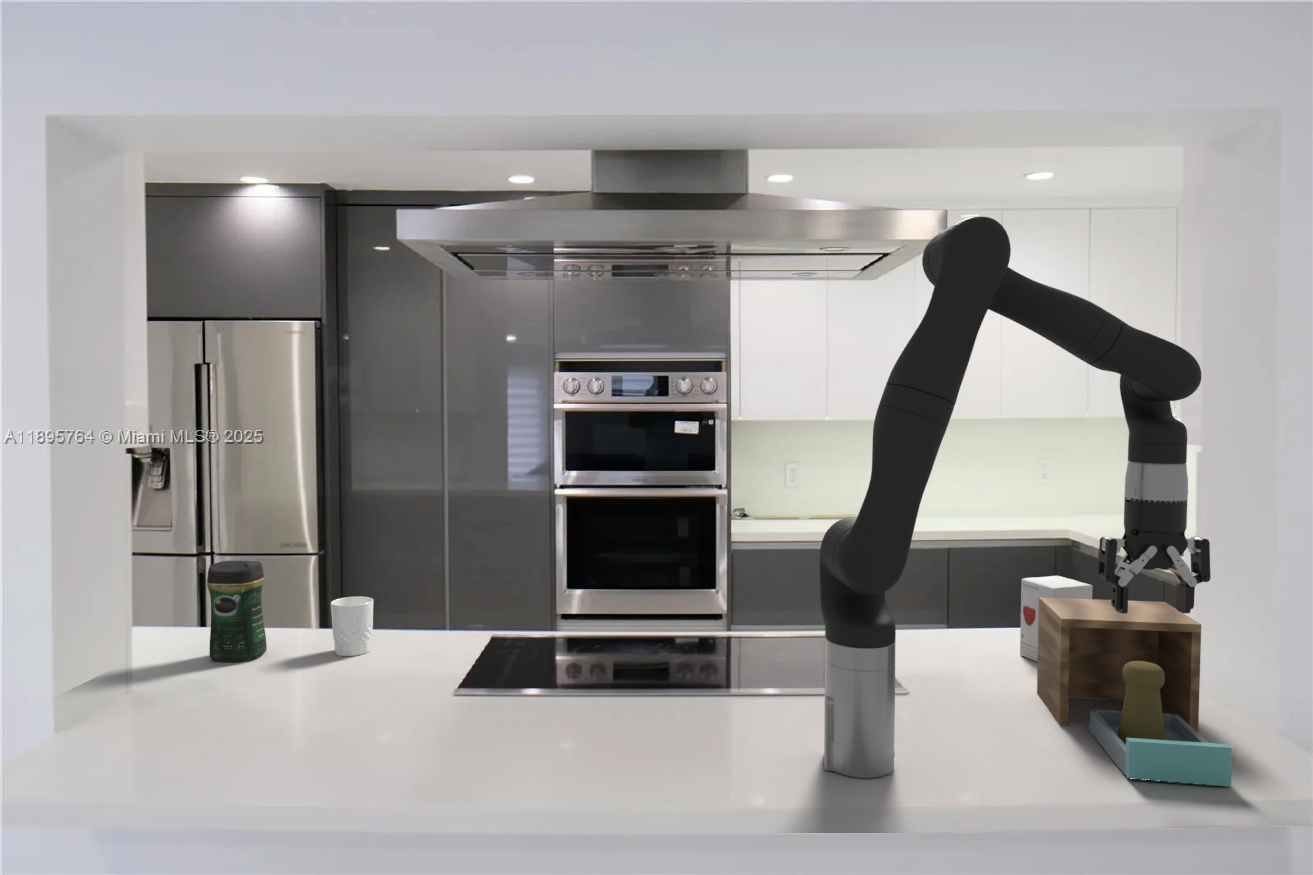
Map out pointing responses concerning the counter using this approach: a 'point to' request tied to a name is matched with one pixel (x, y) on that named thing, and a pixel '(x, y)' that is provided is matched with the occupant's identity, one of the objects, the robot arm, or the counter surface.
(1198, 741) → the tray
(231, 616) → the coffee jar
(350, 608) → the white cup
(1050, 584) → the supplement box
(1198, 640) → the wooden drawer cabinet
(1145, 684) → the olive pawn figure
